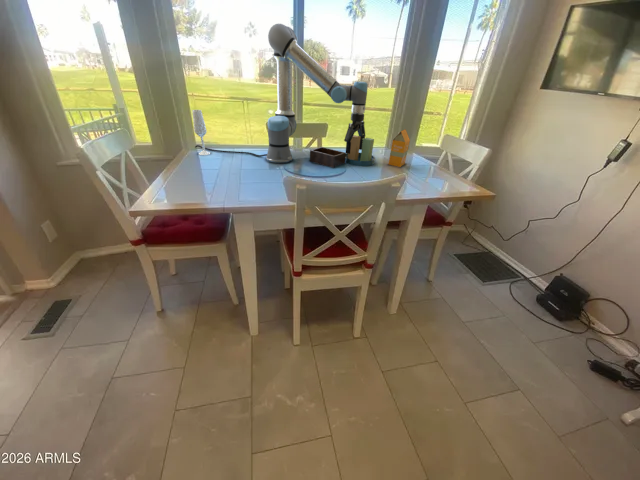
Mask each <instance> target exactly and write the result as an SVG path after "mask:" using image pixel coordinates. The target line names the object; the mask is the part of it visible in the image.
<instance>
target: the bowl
mask: <svg viewBox="0 0 640 480" xmlns="http://www.w3.org/2000/svg"><path fill="white" fill-rule="evenodd" d="M345 153H346V152H345ZM360 159H361V152H359V154H358V160H352V159H348V154H347V153H346V156H345V163H344V164H347V165H349V166H355V167H371V166H373V165H375V163H376V157H375V156H374V155H373V154H372V157H371V160H370V161H360Z"/></svg>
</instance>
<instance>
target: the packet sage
mask: <svg viewBox="0 0 640 480" xmlns="http://www.w3.org/2000/svg"><path fill="white" fill-rule="evenodd" d="M374 141H375V139H374V138H370V137H365V138H364V139H363V143H362V150H360V151H361V152H360V153H361V159H360V161H370V160H371V157H372V155H373V150H374V145H375V144H374V143H375V142H374Z"/></svg>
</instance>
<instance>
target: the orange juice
mask: <svg viewBox="0 0 640 480" xmlns="http://www.w3.org/2000/svg"><path fill="white" fill-rule="evenodd" d="M410 142H411V139H410V137H409V134H408V132H407V129H403V130H401V131H400V132H399V133H398V134H397V135H396V136H395V137H394V138H393V139H392V143H391V148H390V151H389V152H390V153H389V159H388V164H387V165H388V166H393V167H398V168H401V167H402V166H404V165H405V164H406V160H407V155H408V151H409V146H410Z"/></svg>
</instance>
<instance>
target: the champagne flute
mask: <svg viewBox="0 0 640 480" xmlns="http://www.w3.org/2000/svg"><path fill="white" fill-rule="evenodd" d="M191 113H192V121H193V132H194V133H195V134H196V135H197V136H198V137H200V141H201V146H202V148H201V149H202V150H201V151H200V152H199V153H198V155H200V156H208V155H210V154H211V152H209V151H208V150H206V149H205V148H206V147H205V142H204V137H205V135H206V134H207V132H208V131H207V126H206V123H205V118H204V115H203V111H202V109H192V112H191Z"/></svg>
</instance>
